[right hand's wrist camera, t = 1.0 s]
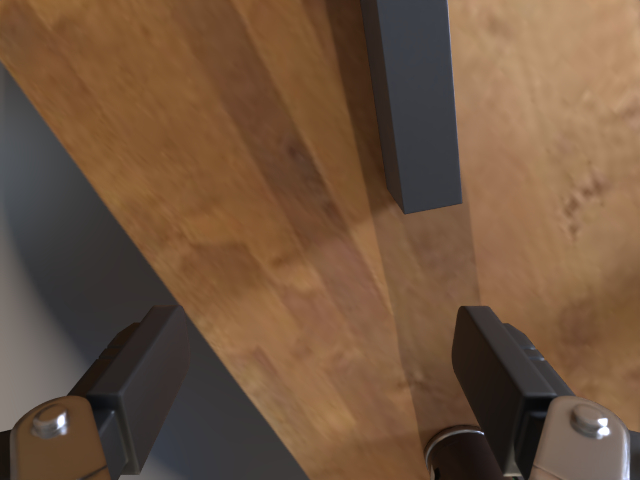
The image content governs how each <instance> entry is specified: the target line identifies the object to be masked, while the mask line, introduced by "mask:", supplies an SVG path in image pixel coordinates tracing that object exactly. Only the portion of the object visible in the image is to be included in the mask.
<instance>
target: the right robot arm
mask: <svg viewBox="0 0 640 480" xmlns="http://www.w3.org/2000/svg"><path fill="white" fill-rule="evenodd" d="M189 363H190V346H189V339H188V332H187V325H186V319H185V312H184V309H183V307H182V306H181V305H155V306H153V307H152V308H151V309H150V311H149V312H148V313H147V315H146V316H145V317H144V319H143V320H142V321H141V322H140V323H133V324H131V325H130V326H128V327H127V328H125V329H124V330H122V331H121V332H119V333H118V334H117V335H116V336H115V338H114V339H113V340H112V341H111V342H110V344H109V345H108V347H107V349H105V350H104V351H103V352H102V353H101V355H100V356H99V359H97V360H96V361H95V362H94V363H93V364H92V365H91V367H90V368H89V369H88V370H87V372H86V373H85V374H84V375H83V376H82V378H81V379H80V380H79V381H78V382H77V384H76V385H75V386H74V387H73V389H72V390H71V391H70V392H69V393H68V395H67V396H64V397H59V398H55V399H52V400H49V401H47V402H44V403H42V404H40V405H38V406H37V407H35V408H33V409H32V410H30V411H29V412H28V413H26V414H25V415H24V416H23V417H22V418H20V419H19V421H18V422H17V423H16V424H15V426H14V427H13V429H11V430H7V431H3V432H0V480H118V479H119V477H120V475H139V474H140V472H141V470H142V468H143V465H144V463H145V461H146V459H147V457H148V455H149V453H150V451H151V448H152V446H153V444H154V442H155V440H156V438H157V436H158V434H159V431H160V429H161V427H162V425H163V423H164V421H165V419H166V416H167V414H168V412H169V410H170V408H171V406H172V404H173V401H174V399H175V397H176V395H177V393H178V391H179V389H180V386H181V384H182V382H183V380H184V378H185V376H186V374H187V371H188V368H189ZM452 364H453V369H454V372H455V374H456V376H457V379H458V381H459V383H460V385H461V387H462V389H463V391H464V393H465V396H466V398H467V400H468V402H469V404H470V406H471V408H472V410H473V412H474V415H475V417H476V419H477V421H478V423H479V425H480V427H481V428H479V427H475V426H468V425H463V426H455V427H451V428H448V429H446V430H443V431H441V432H440V433H438V434H437V435H435V436H434V437H433V438H432V439H431V440H430V441H429V443H428V444H427V446H426V448H425V452H424V459H425V462H426V466H427V469H428V471H429V474H430V477H431V478H430V480H640V433H638V432H634V431H631V430H628V429H627V427H626V426H625V424H624V423H623V422H622V420H621V419H620V418H619V417H617V416H616V415H615V414H614V413H613V412H611V411H610V410H608V409H607V408H605V407H604V406H602V405H600V404H598V403H596V402H593V401H591V400H588V399H585V398H581V397H576V395H575V394H574V393H573V392H572V391H571V389H570V388H569V387H568V386H567V385H566V383H565V382H564V381H563V380H562V379H561V377H560V376H559V375H558V374H557V373H556V371H555V370H554V369H553V368H552V367H551V365H550V364H549V363H548V362H547V361H546V360H544V357H543V356H542V355H541V353H540V352H539V351H538V350H537V349H535V346H534V345H533V344H532V342H531V341H530V340H529V339H528V338H527V336H526V335H525V334H524V333H522V332H521V331H519V330H517V329H516V328H514V327H513V326H511V325H510V324H508V323H501V321H500V320H499V319H498V317H497V316H496V315H495V314H494V312H493V311H492V310H491V308H490V307H488V306H461V307H460V308H459V310H458V313H457V319H456V326H455V333H454V339H453V346H452Z"/></svg>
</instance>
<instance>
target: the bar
mask: <svg viewBox="0 0 640 480" xmlns="http://www.w3.org/2000/svg"><path fill="white" fill-rule="evenodd" d="M360 3H361V10H362V17H363V24H364V31H365V38H366V45H367V52H368V59H369V66H370V73H371V80H372V87H373V93H374V100H375V107H376V114H377V121H378V128H379V135H380V142H381V149H382V156H383V163H384V170H385V177H386V184H387V189H388V191H389V192H390V194H391V195H392V197H393V198H394V200H395V201H396V202H397V204H398V205H399V207H400V208H401V210H402V211H403V213H404V214H410V213H415V212H420V211H425V210H430V209H436V208H441V207H446V206H451V205H456V204H462V192H461V178H460V165H459V151H458V138H457V124H456V110H455V97H454V83H453V70H452V56H451V42H450V29H449V15H448V2H447V0H360Z"/></svg>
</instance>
